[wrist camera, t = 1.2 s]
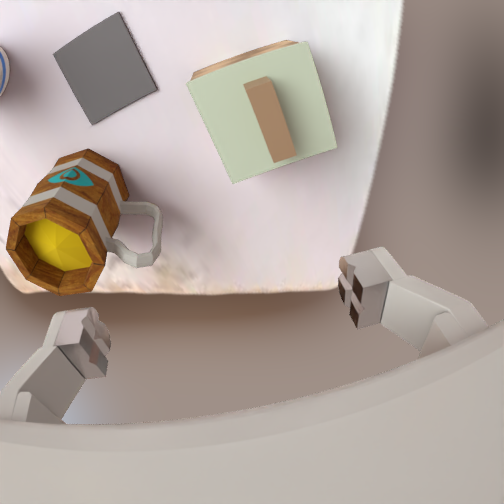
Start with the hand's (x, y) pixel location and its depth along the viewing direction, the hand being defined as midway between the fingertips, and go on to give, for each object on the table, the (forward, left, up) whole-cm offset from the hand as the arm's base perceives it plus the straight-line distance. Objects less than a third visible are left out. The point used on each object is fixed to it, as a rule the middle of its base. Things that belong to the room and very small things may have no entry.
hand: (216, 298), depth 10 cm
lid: (-5, +3, -26) cm, 26 cm away
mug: (+20, +7, -34) cm, 40 cm away
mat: (+11, -9, -34) cm, 37 cm away
